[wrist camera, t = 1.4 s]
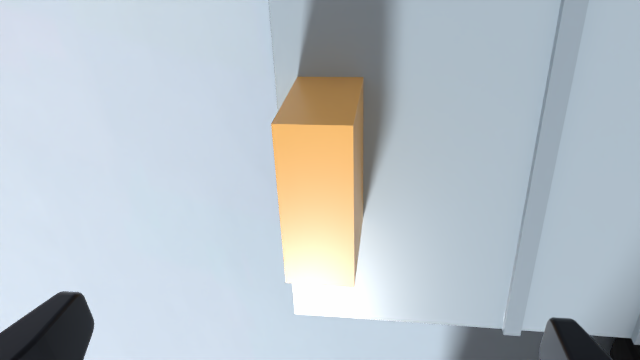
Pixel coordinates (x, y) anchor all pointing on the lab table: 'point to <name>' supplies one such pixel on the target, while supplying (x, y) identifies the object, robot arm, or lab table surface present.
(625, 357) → the tape measure
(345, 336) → the lab table surface
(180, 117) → the lab table surface
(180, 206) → the lab table surface
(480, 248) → the lid
